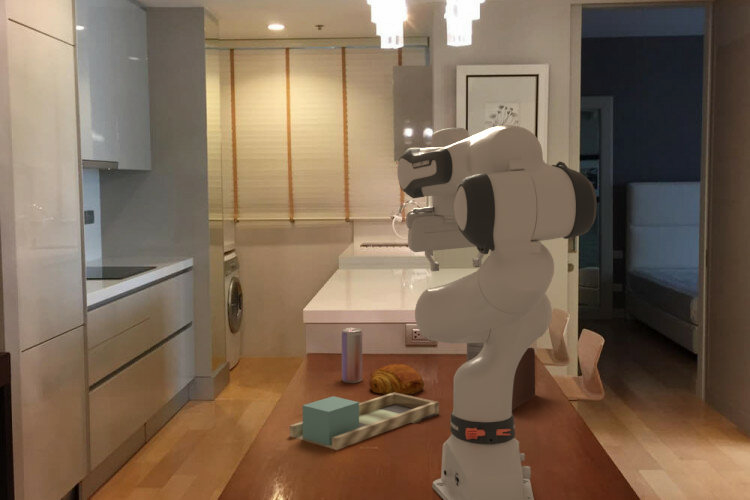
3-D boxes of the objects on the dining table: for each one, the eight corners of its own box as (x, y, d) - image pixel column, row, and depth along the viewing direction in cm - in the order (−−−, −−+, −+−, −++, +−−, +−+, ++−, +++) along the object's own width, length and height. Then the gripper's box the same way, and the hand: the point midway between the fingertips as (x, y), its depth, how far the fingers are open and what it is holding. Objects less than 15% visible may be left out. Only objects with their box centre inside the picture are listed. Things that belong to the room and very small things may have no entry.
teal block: (328, 445, 179) (328, 411, 179) (302, 438, 184) (302, 405, 184) (359, 434, 187) (359, 402, 186) (333, 427, 192) (333, 396, 191)
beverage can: (338, 381, 237) (337, 330, 236) (348, 377, 243) (348, 327, 241) (356, 384, 235) (355, 332, 233) (366, 379, 240) (365, 328, 239)
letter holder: (535, 395, 223) (536, 344, 222) (510, 413, 206) (511, 358, 205) (500, 390, 228) (501, 340, 227) (473, 408, 211) (473, 354, 210)
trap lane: (336, 452, 177) (336, 438, 176) (289, 438, 186) (289, 425, 185) (438, 414, 205) (438, 401, 205) (393, 403, 214) (393, 392, 214)
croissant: (361, 396, 230) (357, 369, 229) (404, 380, 239) (400, 354, 238) (393, 406, 219) (389, 377, 218) (436, 389, 228) (433, 361, 227)
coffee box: (468, 370, 251) (469, 318, 250) (490, 371, 250) (490, 319, 248) (466, 377, 242) (466, 324, 241) (488, 379, 241) (488, 324, 239)
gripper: (409, 210, 170) (412, 276, 172) (503, 202, 174) (505, 266, 176) (402, 207, 176) (406, 270, 179) (493, 199, 180) (496, 261, 182)
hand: (456, 268), depth 177 cm, fingers open, 8 cm apart
